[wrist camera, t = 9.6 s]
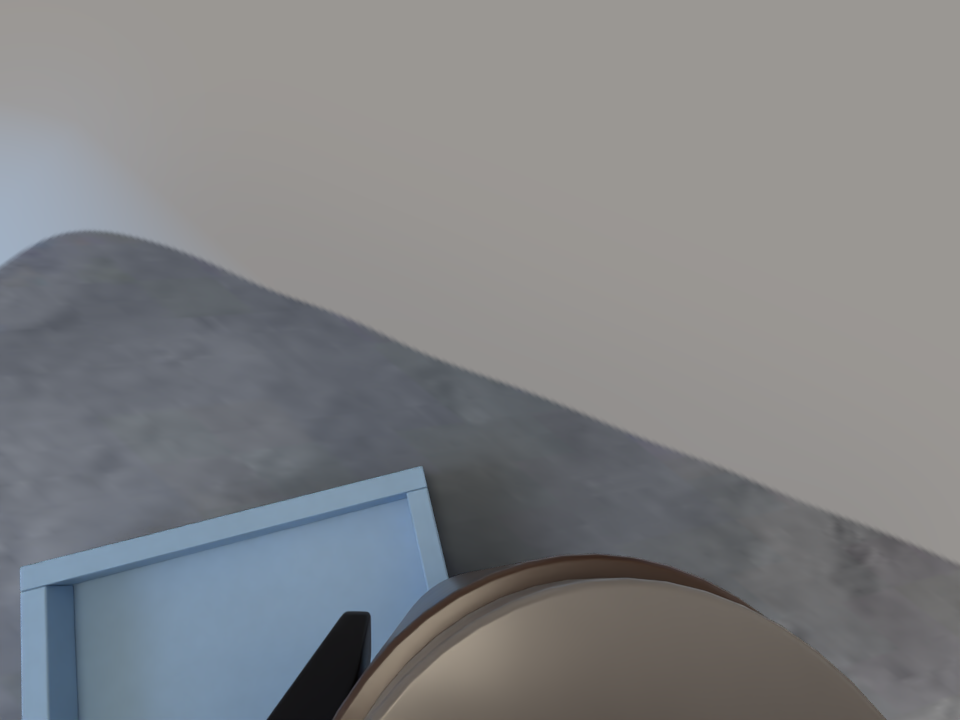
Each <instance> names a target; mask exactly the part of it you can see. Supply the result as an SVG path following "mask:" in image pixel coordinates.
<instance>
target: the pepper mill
mask: <svg viewBox="0 0 960 720" xmlns="http://www.w3.org/2000/svg"><path fill="white" fill-rule="evenodd" d="M333 720H886V718H885V717H884V716H883V715H882V714H881V713H880V712H879V711H878V710H877V709H876V707H875V706H874V705H873V704H872V703H871V702H870V701H869V700H868V699H867V698H866V697H865V695H864V694H863V693H862V692H861V691H860V690H859V689H858V688H857V687H856V686H855V684H854V683H853V682H852V681H851V680H850V679H848V678H847V677H846V676H845V675H844V674H843V673H842V672H840V671H839V670H838V669H837V668H836V667H835V666H834V665H833V664H831V663H830V662H829V661H828V660H827V659H826V658H825V657H824V656H822V655H821V654H820V653H819V652H818V651H817V650H815V649H814V648H812V647H811V646H810V645H808V644H807V643H805V642H804V641H802V640H801V639H800V638H798V637H797V636H795V635H794V634H792V633H791V632H790V631H788V630H787V629H785V628H784V627H782V626H781V625H779V624H777V623H775V622H774V621H772V620H770V619H768V618H767V617H765V616H764V615H763V614H761V613H760V612H758V611H757V610H755V609H754V608H753V607H751V606H750V605H748V604H747V603H745V602H744V601H743V600H741V599H740V598H738V597H737V596H735V595H733V594H731V593H729V592H728V591H726V590H724V589H722V588H720V587H718V586H716V585H714V584H713V583H711V582H709V581H707V580H705V579H703V578H701V577H698V576H695V575H693V574H690V573H688V572H685V571H682V570H680V569H677V568H674V567H672V566H669V565H666V564H662V563H657V562H653V561H649V560H645V559H640V558H636V557H631V556H621V555H610V554H600V553H590V554H567V555H557V556H551V557H546V558H541V559H535V560H530V561H525V562H520V563H515V564H509V565H504V566H499V567H494V568H489V569H484V570H478V571H473V572H468V573H463V574H459V575H456V576H453V577H450V578H448V579H446V580H444V581H442V582H440V583H439V584H437V585H436V586H434V587H433V588H431V589H430V590H429V591H427V592H426V593H425V594H424V595H423V596H422V597H421V598H420V599H419V600H418V601H417V602H416V603H415V604H414V605H413V607H412V608H411V609H410V610H409V612H408V613H407V615H406V616H405V617H404V619H403V620H402V621H401V623H400V624H399V625H398V627H397V628H396V629H395V631H394V632H393V633H392V635H391V636H390V637H389V639H388V640H387V642H386V643H385V644H384V646H383V647H382V648H381V650H380V651H379V652H378V654H377V655H376V656H375V658H374V659H373V660H372V662H371V663H370V664H369V666H368V667H367V669H366V670H365V671H364V673H363V674H362V675H361V677H360V678H359V680H358V681H357V683H356V684H355V686H354V687H353V689H352V690H351V691H350V693H349V694H348V696H347V697H346V699H345V700H344V702H343V703H342V705H341V706H340V707H339V709H338V710H337V712H336V714H335V716H334V718H333Z"/></svg>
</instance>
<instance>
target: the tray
mask: <svg viewBox="0 0 960 720" xmlns="http://www.w3.org/2000/svg"><path fill="white" fill-rule="evenodd" d="M448 578H449V577H448V573H447V568H446V564H445V560H444V556H443V551H442V547H441V543H440V539H439V534H438V530H437V526H436V522H435V517H434V513H433V509H432V504H431V500H430V496H429V492H428V489H427V483H426V479H425V475H424V470H423V467H422V466H419V467H415V468H411V469H407V470H403V471H399V472H395V473H391V474H387V475H383V476H379V477H375V478H371V479H367V480H363V481H359V482H355V483H351V484H347V485H344V486H340V487H336V488H332V489H328V490H324V491H320V492H316V493H312V494H308V495H304V496H300V497H296V498H292V499H288V500H284V501H280V502H276V503H272V504H268V505H264V506H260V507H256V508H252V509H248V510H244V511H240V512H236V513H232V514H228V515H224V516H220V517H217V518H213V519H209V520H205V521H201V522H197V523H193V524H189V525H185V526H181V527H177V528H173V529H169V530H165V531H161V532H157V533H153V534H149V535H145V536H141V537H137V538H133V539H129V540H125V541H121V542H117V543H113V544H109V545H105V546H101V547H97V548H94V549H90V550H86V551H82V552H78V553H74V554H70V555H66V556H62V557H58V558H54V559H50V560H46V561H42V562H38V563H34V564H30V565H26V566H22V567H20V591H22V593H21V681H22V720H266V719H267V718H268V717H269V715H270V714H271V712H272V711H273V710H274V708H275V707H276V706H277V704H278V703H279V701H280V700H281V699H282V697H283V696H284V694H285V693H286V692H287V690H288V689H289V688H290V686H291V685H292V683H293V682H294V681H295V679H296V678H297V676H298V675H299V674H300V672H301V671H302V669H303V668H304V667H305V665H306V664H307V663H308V661H309V660H310V658H311V657H312V656H313V654H314V653H315V651H316V650H317V649H318V647H319V646H320V644H321V643H322V642H323V640H324V639H325V638H326V636H327V635H328V633H329V632H330V631H331V629H332V628H333V626H334V625H335V624H336V622H337V621H338V620H339V618H340V617H341V616H342V614H343V613H345V612H346V611H367V612H369V613H370V615H371V662H372V660H373V659H374V658H375V656H376V655H377V654H378V652H379V651H380V650H381V648H382V647H383V646H384V644H385V643H386V642H387V640H388V639H389V637H390V636H391V635H392V633H393V632H394V631H395V629H396V628H397V627H398V625H399V624H400V623H401V621H402V620H403V619H404V617H405V616H406V615H407V613H408V612H409V610H410V609H411V608H412V607H413V605H414V604H415V603H416V602H417V601H418V600H419V599H420V598H421V597H422V596H423V595H424V594H425V593H426V592H427V591H429V590H430V589H431V588H433V587H434V586H436V585H437V584H439V583H440V582H442V581H444V580H446V579H448ZM371 662H370V663H371Z"/></svg>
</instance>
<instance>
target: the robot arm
mask: <svg viewBox="0 0 960 720" xmlns="http://www.w3.org/2000/svg"><path fill="white" fill-rule="evenodd" d="M370 662H371V615H370V613H369V612H367V611H346V612H345V613H343V614H342V616H341V617H340V618H339V620H338V621H337V622H336V624H335V625H334V626H333V628H332V629H331V631H330V632H329V633H328V635H327V636H326V638H325V639H324V640H323V642H322V643H321V644H320V646H319V647H318V649H317V650H316V651H315V653H314V654H313V656H312V657H311V658H310V660H309V661H308V663H307V664H306V665H305V667H304V668H303V669H302V671H301V672H300V674H299V675H298V676H297V678H296V679H295V681H294V682H293V683H292V685H291V686H290V688H289V689H288V690H287V692H286V693H285V694H284V696H283V697H282V699H281V700H280V701H279V703H278V704H277V706H276V707H275V708H274V710H273V711H272V712H271V714H270V715H269V717H268V718H267V719H266V720H333V718H334V716H335V714H336V712H337V710H338V709H339V707H340V706H341V705H342V703H343V702H344V700H345V699H346V697H347V696H348V694H349V693H350V691H351V690H352V689H353V687H354V686H355V684H356V683H357V681H358V680H359V678H360V677H361V675H362V674H363V673H364V671H365V670H366V669H367V667H368V666H369V664H370Z"/></svg>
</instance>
